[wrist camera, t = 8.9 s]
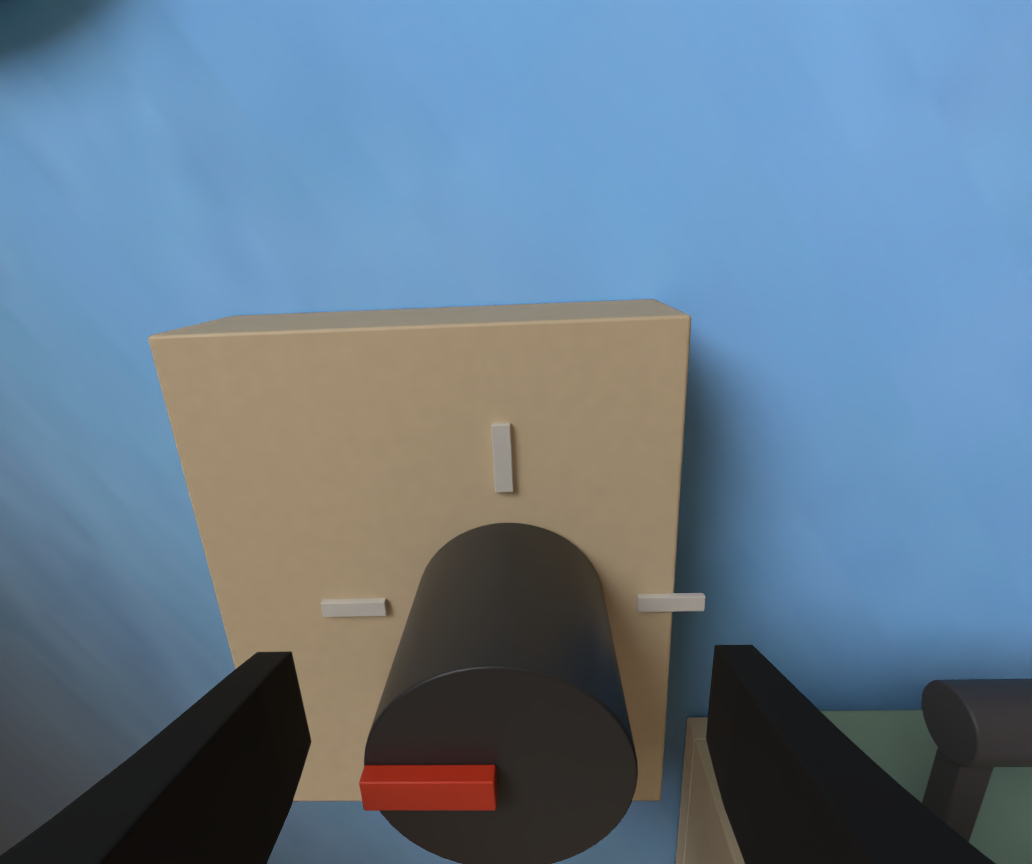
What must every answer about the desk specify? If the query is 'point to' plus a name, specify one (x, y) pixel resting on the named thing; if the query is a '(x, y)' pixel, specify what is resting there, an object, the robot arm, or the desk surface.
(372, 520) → the block
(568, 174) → the desk surface
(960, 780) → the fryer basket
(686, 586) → the desk surface
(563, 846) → the timer dial
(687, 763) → the drawer box
